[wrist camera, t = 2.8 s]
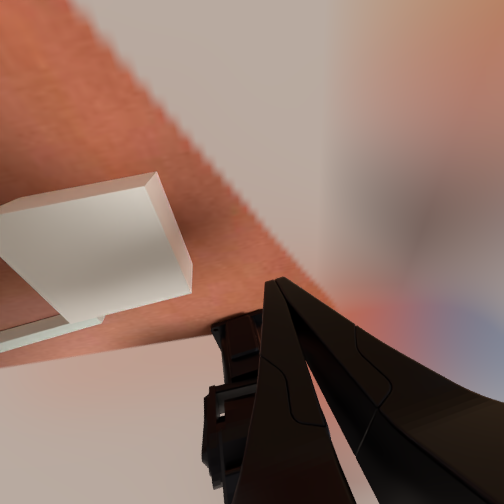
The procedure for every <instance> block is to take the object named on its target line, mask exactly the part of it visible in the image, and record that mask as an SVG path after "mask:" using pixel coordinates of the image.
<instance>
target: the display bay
mask: <svg viewBox="0 0 504 504" xmlns="http://www.w3.org/2000/svg"><path fill="white" fill-rule="evenodd" d="M104 318H105V315H104V316H100V317H97V318H93V319H89V320H85V321H81V322H77V323H73V324H70V323H69V322H68V321H67V320H66V319H65V318H64V317H63V316H62V315H61V314H60V315H57V316H53V317H50V318H46V319H43V320H39V321H36V322H32V323H28V324H25V325H21V326H18V327H14V328H11V329H7V330H4V331H0V353H1V352H5V351H8V350H12V349H15V348H18V347H22V346H25V345H29V344H32V343H36V342H39V341H42V340H46V339H49V338H53V337H56V336H60V335H63V334H67V333H70V332H73V331H77V330H80V329H84V328H87V327H91V326H94V325H98V324H101V323H102V322H103V320H104Z"/></svg>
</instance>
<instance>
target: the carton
mask: <svg viewBox="0 0 504 504" xmlns="http://www.w3.org/2000/svg"><path fill="white" fill-rule="evenodd" d="M0 257H1V258H2V259H3V260H4V261H5V262H6V263H7V264H8V265H9V266H10V267H11V268H12V269H14V270H15V271H16V272H17V273H18V274H19V275H20V276H21V277H22V278H23V279H24V280H25V281H26V282H27V283H28V284H29V285H30V286H31V287H32V288H33V289H35V290H36V291H37V292H38V293H39V294H40V295H41V296H42V297H43V298H44V299H45V300H46V301H47V302H48V303H49V304H50V305H51V306H52V307H53V308H54V309H55V310H57V311H58V312H59V313H60V314H61V315H62V316H63V317H64V318H65V319H66V320H67V321H68V322H69V323H70V324H73V323H77V322H81V321H85V320H89V319H93V318H97V317H100V316H104V315H108V314H112V313H116V312H120V311H124V310H128V309H132V308H136V307H140V306H144V305H148V304H152V303H156V302H160V301H164V300H167V299H171V298H175V297H179V296H183V295H187V294H191V293H192V272H193V263H192V261H191V258H190V256H189V253H188V250H187V248H186V245H185V243H184V240H183V238H182V235H181V232H180V230H179V227H178V225H177V222H176V220H175V217H174V214H173V212H172V209H171V207H170V204H169V202H168V199H167V196H166V194H165V191H164V189H163V186H162V184H161V181H160V178H159V176H158V173H157V171H155V172H150V173H145V174H140V175H134V176H129V177H124V178H119V179H114V180H108V181H103V182H98V183H93V184H87V185H82V186H77V187H72V188H66V189H61V190H56V191H51V192H46V193H40V194H35V195H30V196H25V197H19V198H17V199H15V200H12V201H10V202H8V203H6V204H3V205H1V206H0Z"/></svg>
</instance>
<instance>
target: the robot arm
mask: <svg viewBox="0 0 504 504" xmlns="http://www.w3.org/2000/svg"><path fill="white" fill-rule="evenodd" d="M211 332H212V334H213V336H214V338H215V340H216V342H217V344H218V346H219V348H220V350H221V352H222V363H223V372H224V383H225V384H223V385H219V386H215V385H214V386H210V387H209V394H208V395H207V396H206V397H204V428H203V441H202V462H203V463H204V464H205V465H206V466H207V467H208V468H209V473H210V476H211V477H212V484H213V489H214V490H215V489H218V488H221V487H223V493H224V503H225V504H356V501H355V499H354V497H353V494H352V492H351V489H350V487H349V484H348V482H347V480H346V477H345V475H344V473H343V470H342V468H341V465H340V463H339V460H338V458H337V455H336V452H335V449H334V447H333V444H332V441H331V437H330V432H329V428H328V425H327V422H326V419H325V416H324V414H323V411H322V409H321V407H320V404H319V401H318V398H317V395H316V392H315V389H314V385H313V383H312V379H311V376H310V373H309V370H308V367H307V364H308V366H309V368H310V370H311V372H312V374H313V376H314V377H315V379H316V381H317V383H318V385H319V387H320V389H321V391H322V393H323V395H324V397H325V399H326V401H327V403H328V405H329V407H330V409H331V411H332V412H333V414H334V416H335V418H336V420H337V422H338V424H339V426H340V428H341V430H342V432H343V434H344V436H345V438H346V440H347V442H348V444H349V445H350V447H351V449H352V451H353V453H354V455H355V456H356V459H357V461H358V463H359V465H360V467H361V469H362V471H363V473H364V475H365V477H366V479H367V480H368V482H369V484H370V486H371V488H372V490H373V492H374V494H375V496H376V498H377V500H378V502H379V504H504V402H500V401H497V400H493V399H491V398H488V397H485V396H482V395H480V394H477V393H475V392H473V391H470V390H468V389H466V388H464V387H462V386H460V385H458V384H456V383H454V382H452V381H451V380H449V379H447V378H445V377H443V376H442V375H440V374H438V373H436V372H434V371H433V370H431V369H429V368H427V367H425V366H423V365H422V364H420V363H418V362H416V361H415V360H413V359H411V358H409V357H407V356H406V355H404V354H402V353H400V352H399V351H397V350H395V349H393V348H392V347H390V346H388V345H387V344H385V343H383V342H382V341H380V340H378V339H377V338H375V337H374V336H372V335H371V334H369V333H367V332H366V331H365V330H363V329H362V328H360V327H359V326H355V324H354V323H352V322H351V321H350V320H348V319H347V318H345V317H344V316H342V315H341V314H339V313H338V312H336V311H335V310H333V309H332V308H330V307H329V306H327V305H326V304H324V303H323V302H321V301H320V300H318V299H317V298H315V297H314V296H312V295H311V294H309V293H308V292H306V291H305V290H303V289H302V288H300V287H299V286H297V285H296V284H294V283H293V282H291V281H290V280H288V279H287V278H286V277H280V278H277V279H275V280H270V281H266V282H265V287H264V301H263V310H260V311H257V312H253V313H250V314H247V315H243V316H240V317H237V318H234V319H230V320H227V321H224V322H220V323H217V324H214V325H212V326H211ZM305 360H306V361H305ZM306 362H307V364H306ZM222 413H225V416H221V417H220V414H222Z"/></svg>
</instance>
